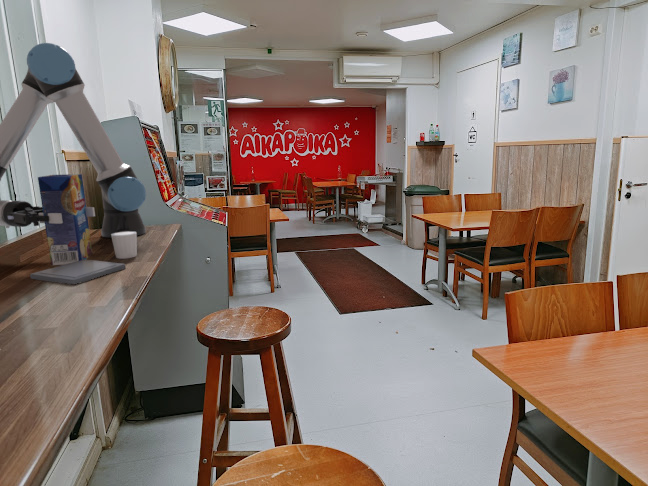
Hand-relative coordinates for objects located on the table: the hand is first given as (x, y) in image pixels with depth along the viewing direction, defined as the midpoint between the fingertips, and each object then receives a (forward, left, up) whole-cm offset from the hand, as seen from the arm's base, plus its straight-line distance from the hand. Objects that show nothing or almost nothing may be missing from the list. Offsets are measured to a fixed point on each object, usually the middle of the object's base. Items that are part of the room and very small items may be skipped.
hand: (78, 215), depth 119 cm
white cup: (-7, +8, -13) cm, 17 cm away
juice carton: (+1, -4, -13) cm, 14 cm away
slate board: (+11, +11, -13) cm, 20 cm away
